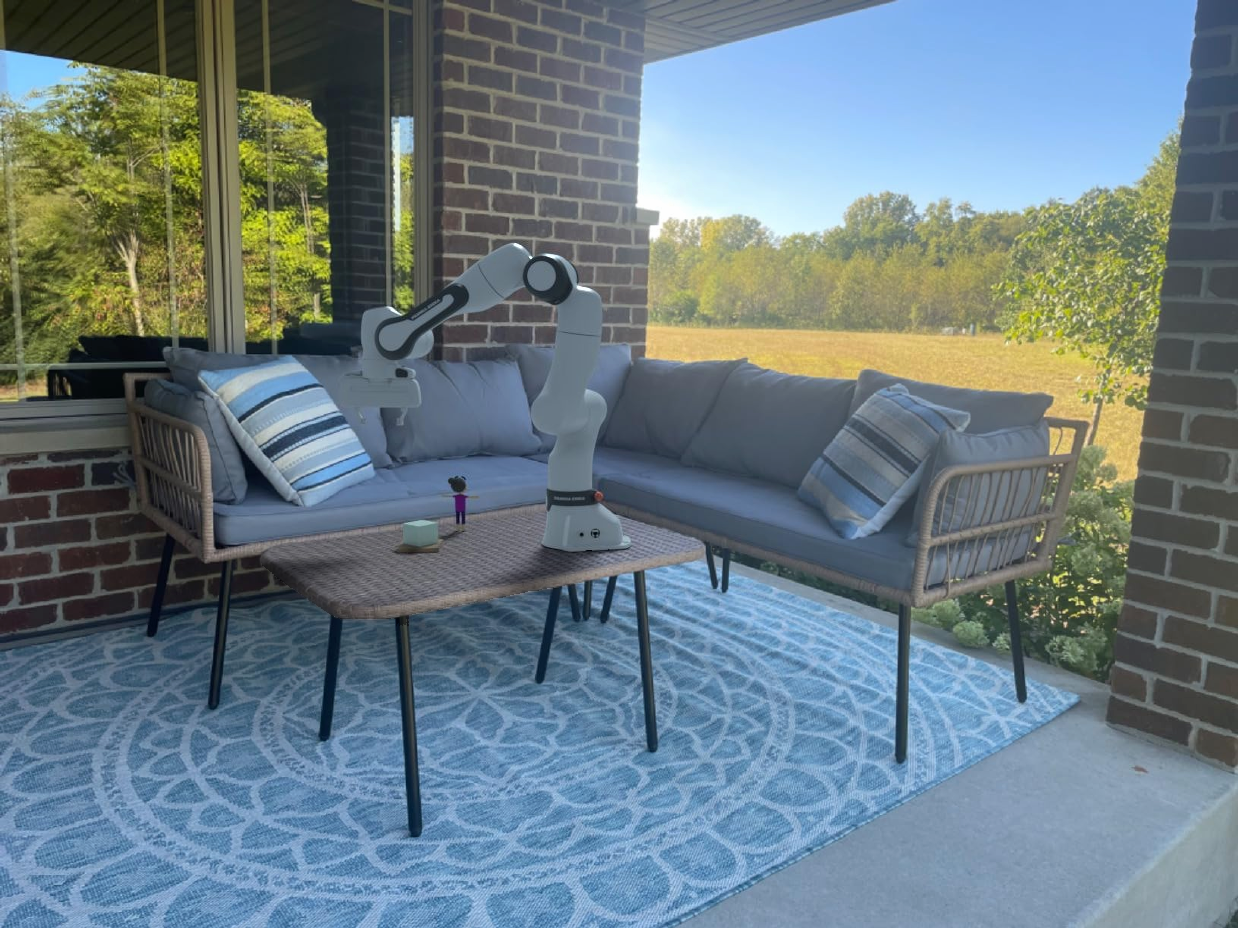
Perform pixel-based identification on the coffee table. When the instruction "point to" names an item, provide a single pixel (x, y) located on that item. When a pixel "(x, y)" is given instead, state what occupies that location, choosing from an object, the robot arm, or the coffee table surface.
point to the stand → (426, 548)
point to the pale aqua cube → (420, 533)
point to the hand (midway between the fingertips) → (381, 425)
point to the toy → (459, 499)
